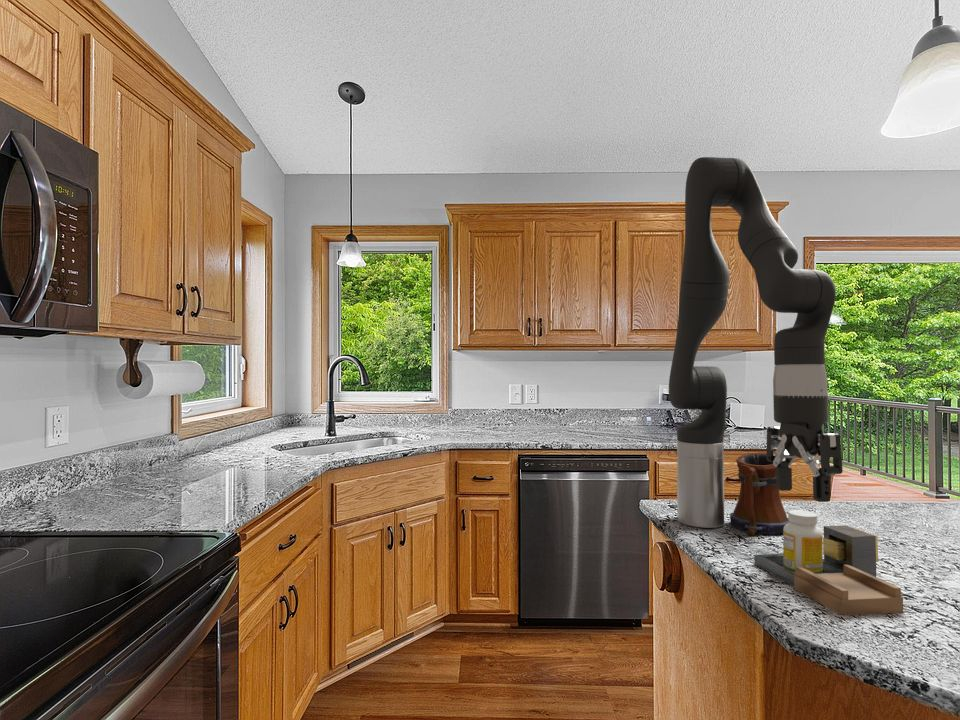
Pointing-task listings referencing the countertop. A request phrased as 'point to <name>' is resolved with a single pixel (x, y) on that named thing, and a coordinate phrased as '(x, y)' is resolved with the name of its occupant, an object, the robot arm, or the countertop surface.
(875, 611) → the wooden tray
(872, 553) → the block
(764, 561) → the socket collar
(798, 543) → the supplement bottle
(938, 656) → the countertop surface
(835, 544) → the tan boxy piece
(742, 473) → the mug
